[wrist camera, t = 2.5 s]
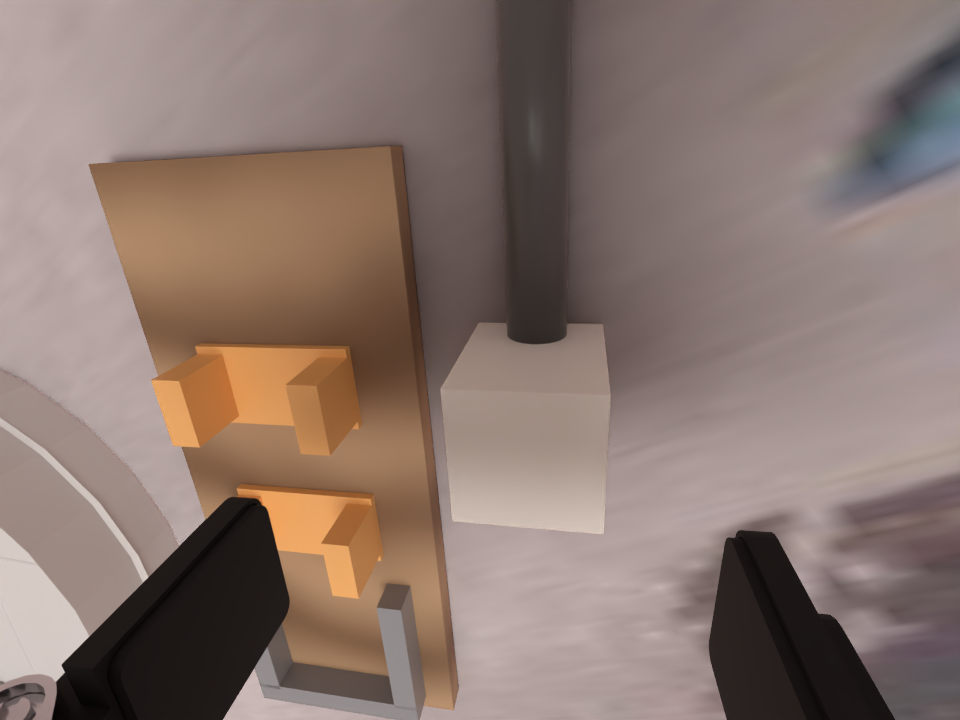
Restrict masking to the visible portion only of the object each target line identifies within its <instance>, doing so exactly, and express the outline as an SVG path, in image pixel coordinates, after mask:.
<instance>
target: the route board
mask: <svg viewBox="0 0 960 720" xmlns="http://www.w3.org/2000/svg"><path fill="white" fill-rule="evenodd" d="M89 167H90V170H91V173H92V176H93V179H94V182H95V185H96V188H97V191H98V194H99V197H100V201H101V204H102V207H103V210H104V213H105V216H106V219H107V222H108V225H109V228H110V231H111V234H112V237H113V240H114V243H115V246H116V249H117V252H118V255H119V258H120V261H121V264H122V267H123V270H124V273H125V276H126V279H127V282H128V285H129V288H130V291H131V294H132V297H133V300H134V304H135V307H136V310H137V313H138V316H139V319H140V322H141V325H142V328H143V331H144V334H145V337H146V340H147V343H148V346H149V349H150V352H151V355H152V358H153V361H154V364H155V367H156V370H157V373H158V376H159V375H161V374H163V373H165V372H167V371H168V370H170V369H172V368H174V367H176V366H177V365H179V364H181V363H183V362H185V361H186V360H188V359H190V358H192V357H194V356H195V355H197V352H196V348H195V346H197V345H199V344H201V343H211V344H263V345H315V346H349V348H350V354H351V360H352V366H353V372H354V378H355V384H356V390H357V397H358V403H359V409H360V415H361V421H362V426H361V427H360V428H359V429H351V431H350V432H349V433H348V434H347V436H346V437H345V438H344V439H343V441H342V442H341V443H340V444H339V446H338V447H337V448H336V449H335V451H334V452H333V453H332V454H331V456H325V455H309V454H301V453H300V448H299V444H298V439H297V435H296V431H295V426H286V425H267V424H248V423H230V424H229V425H227V426H226V427H225V428H224V429H222V430H221V431H220V432H219V433H217V434H216V435H215V436H214V437H212V438H211V439H210V440H209V441H207V442H206V443H205V444H204V445H202V446H201V447H200V448H199V447H183V446H182V449H183V452H184V455H185V458H186V461H187V464H188V467H189V470H190V473H191V476H192V479H193V482H194V485H195V488H196V491H197V494H198V497H199V500H200V503H201V507H202V510H203V513H204V516H205V519H207V518H208V517H209V516H210V515H211V514H212V513H213V512H214V511H215V510H216V509H217V508H218V507H219V506H220V505H221V504H222V503H223V502H224V501H225V500H226V499H228V498H230V497H237V496H238V492H237V488H238V486H239V485H240V484H249V485H262V486H275V487H288V488H301V489H314V490H327V491H340V492H352V493H365V494H374V500H375V506H376V512H377V518H378V524H379V530H380V536H381V542H382V548H383V554H384V556H383V558H382V560H381V561H377V562H376V564H375V566H374V568H373V571H372V573H371V575H370V577H369V579H368V581H367V583H366V585H365V587H364V589H363V591H362V593H361V595H360V597H359V599H356V598H348V597H339V596H333V595H332V591H331V586H330V582H329V577H328V573H327V568H326V564H325V560H324V555H318V554H309V553H299V552H289V551H280V550H278V553H279V557H280V562H281V566H282V570H283V574H284V578H285V582H286V586H287V590H288V594H289V599H290V605H289V610H288V613H287V615H286V617H285V619H284V621H283V622H282V625H283V629H284V632H285V636H286V639H287V643H288V646H289V650H290V653H291V657H292V660H293V662H296V663H302V664H309V665H316V666H322V667H329V668H336V669H343V670H349V671H356V672H363V673H370V674H376V675H383V676H389V674H388V668H387V663H386V657H385V652H384V646H383V641H382V635H381V630H380V624H379V619H378V613H377V608H376V607H377V605H378V603H379V601H380V598H381V596H382V594H383V592H384V589H385V587H386V585H387V583H389V584H398V585H407V586H410V587H411V594H412V601H413V608H414V615H415V622H416V629H417V636H418V643H419V650H420V657H421V664H422V671H423V678H424V685H425V692H426V698H425V702H424V706H429V707H436V708H442V709H448V710H454V706H455V702H456V698H457V693H458V680H457V671H456V661H455V652H454V642H453V632H452V623H451V613H450V604H449V594H448V585H447V575H446V565H445V556H444V546H443V537H442V527H441V518H440V508H439V498H438V489H437V479H436V470H435V460H434V451H433V441H432V431H431V422H430V412H429V403H428V393H427V384H426V374H425V364H424V355H423V345H422V336H421V326H420V317H419V307H418V297H417V288H416V278H415V269H414V259H413V250H412V240H411V230H410V221H409V211H408V202H407V192H406V183H405V173H404V163H403V154H402V146H384V147H367V148H350V149H333V150H317V151H300V152H283V153H267V154H250V155H233V156H216V157H200V158H183V159H166V160H150V161H133V162H116V163H99V164H89Z"/></svg>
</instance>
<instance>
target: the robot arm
mask: <svg viewBox="0 0 960 720" xmlns="http://www.w3.org/2000/svg"><path fill="white" fill-rule="evenodd" d="M289 605H290V599H289V594H288V590H287V586H286V582H285V578H284V574H283V570H282V566H281V562H280V557H279V553H278V549H277V545H276V541H275V537H274V533H273V529H272V525H271V521H270V517H269V513H268V510H267V508H266V507H265V506H262V504H261V502H260V501H259V500H258V499H256V498H245V497H230V498H228V499H226V500H225V501H224V502H223V503H222V504H221V505H220V506H219V507H218V508H217V509H216V510H215V511H214V512H213V513H212V514H211V515H210V516H209V517H208V518H207V519H206V520H205V521H204V522H203V523H202V524H201V525H200V526H199V527H198V528H197V529H196V530H195V531H194V532H193V533H192V534H191V535H190V536H189V537H188V538H187V539H186V540H185V541H184V542H183V543H182V544H181V545H180V546H179V547H178V548H177V549H176V550H175V551H174V552H173V553H172V554H171V555H170V556H169V557H168V558H167V559H166V560H165V561H164V562H163V563H162V564H161V565H160V566H159V567H158V568H157V569H156V570H155V571H154V572H153V573H152V574H151V575H150V576H149V577H148V578H147V579H146V580H145V581H144V582H143V583H142V584H141V585H140V586H139V587H138V588H137V589H136V590H135V591H134V592H133V593H132V594H131V595H130V596H129V597H128V598H127V599H126V600H125V601H124V602H123V603H122V604H121V605H120V606H119V607H118V608H117V609H116V610H115V611H114V612H113V613H112V614H111V615H110V616H109V617H108V618H107V619H106V620H105V621H104V622H103V623H102V624H101V625H100V626H99V627H98V628H97V629H96V630H95V631H94V632H93V633H92V634H91V635H90V636H89V637H88V638H87V639H86V640H85V641H84V642H83V643H82V644H81V645H80V646H79V647H78V648H77V649H76V650H75V651H74V652H73V653H72V654H71V655H70V656H69V657H68V658H67V659H66V660H65V661H64V662H63V663H62V665H61V666H62V668H63V670H64V672H65V673H64V674H63V675H62V676H61V677H60V678H59V679H58V680H57V681H56V682H55V681H54V680H53V679H52V678H51V677H50V676H47V675H43V674H35V675H26V676H23V677H20V678H16V679H13V680H10V681H8V682H6V683H4V684H2V685H0V720H223V718H224V717H225V715H226V713H227V712H228V710H229V709H230V707H231V705H232V704H233V702H234V700H235V699H236V697H237V695H238V694H239V692H240V691H241V689H242V687H243V686H244V684H245V682H246V681H247V679H248V678H249V676H250V674H251V673H252V671H253V669H254V668H255V666H256V665H257V663H258V661H259V660H260V658H261V656H262V655H263V653H264V651H265V650H266V648H267V647H268V645H269V643H270V642H271V640H272V638H273V637H274V635H275V634H276V632H277V630H278V629H279V627H280V625H281V624H282V622H283V621H284V619H285V617H286V615H287V613H288V610H289ZM709 653H710V660H711V664H712V668H713V671H714V675H715V679H716V682H717V686H718V689H719V693H720V697H721V700H722V704H723V707H724V711H725V714H726V718H727V720H895V719H894V717H893V715H892V713H891V712H890V710H889V708H888V706H887V705H886V703H885V701H884V700H883V698H882V696H881V694H880V693H879V691H878V689H877V687H876V686H875V684H874V682H873V680H872V679H871V677H870V675H869V673H868V672H867V670H866V668H865V667H864V665H863V663H862V661H861V660H860V658H859V656H858V654H857V653H856V651H855V649H854V647H853V646H852V644H851V642H850V640H849V639H848V637H847V635H846V634H845V632H844V630H843V628H842V627H841V626H840V624H839V623H838V621H837V620H836V619H835V618H833V617H832V616H831V615H827V614H818V613H817V611H816V609H815V607H814V605H813V603H812V601H811V600H810V598H809V596H808V594H807V592H806V590H805V588H804V587H803V585H802V583H801V581H800V579H799V577H798V576H797V574H796V572H795V570H794V568H793V566H792V564H791V563H790V561H789V559H788V557H787V555H786V553H785V552H784V550H783V548H782V546H781V544H780V542H779V540H778V539H777V537H776V536H775V534H773V533H772V532H759V531H744V530H740V531H738V532H737V534H736V537H735V538H727V539H726V542H725V546H724V553H723V559H722V565H721V571H720V577H719V584H718V590H717V596H716V602H715V608H714V615H713V621H712V627H711V633H710V639H709Z"/></svg>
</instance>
